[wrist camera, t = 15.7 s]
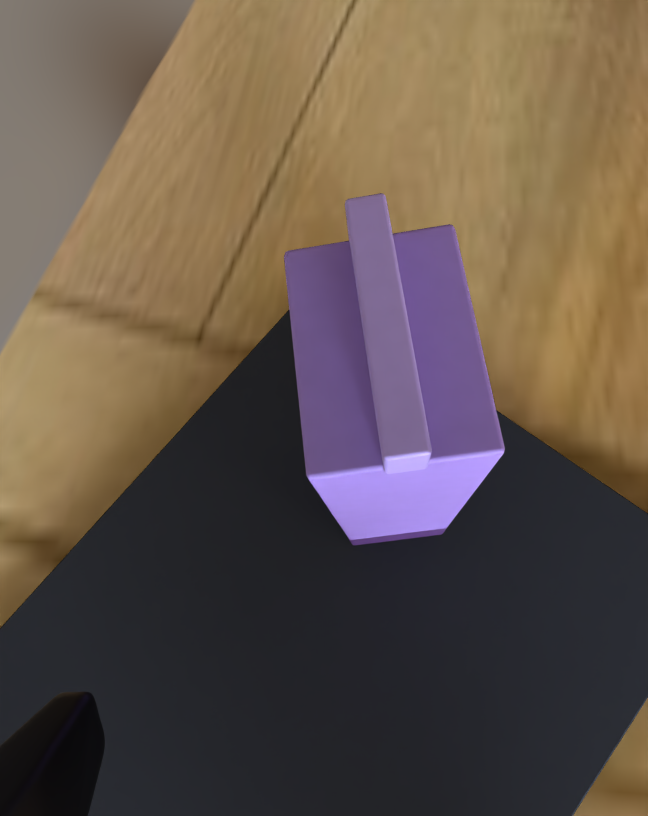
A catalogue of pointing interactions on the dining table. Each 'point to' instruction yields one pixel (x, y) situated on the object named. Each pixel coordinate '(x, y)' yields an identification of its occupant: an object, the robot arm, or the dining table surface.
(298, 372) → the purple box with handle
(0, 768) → the robot arm
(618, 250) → the dining table surface
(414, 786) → the placemat
